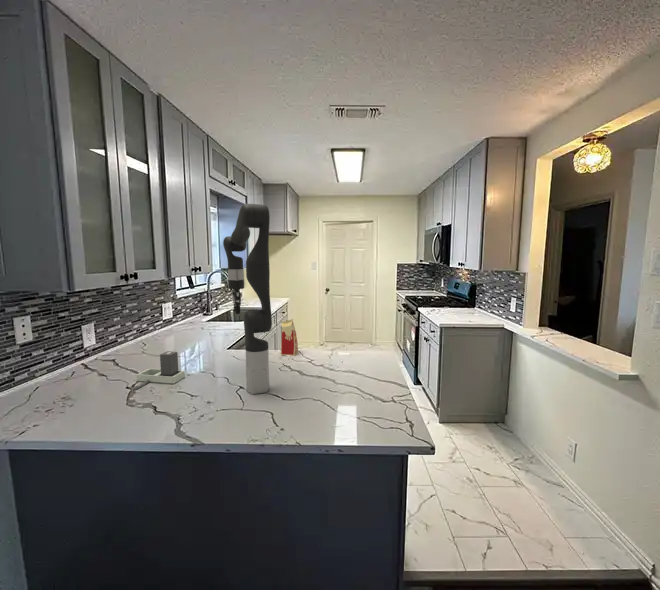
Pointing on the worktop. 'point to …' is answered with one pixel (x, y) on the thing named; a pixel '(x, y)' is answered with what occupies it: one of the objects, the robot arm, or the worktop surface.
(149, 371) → the two-compartment tray
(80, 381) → the worktop surface
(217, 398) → the worktop surface
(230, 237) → the robot arm
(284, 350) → the milk carton
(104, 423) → the worktop surface
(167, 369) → the block
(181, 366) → the worktop surface
